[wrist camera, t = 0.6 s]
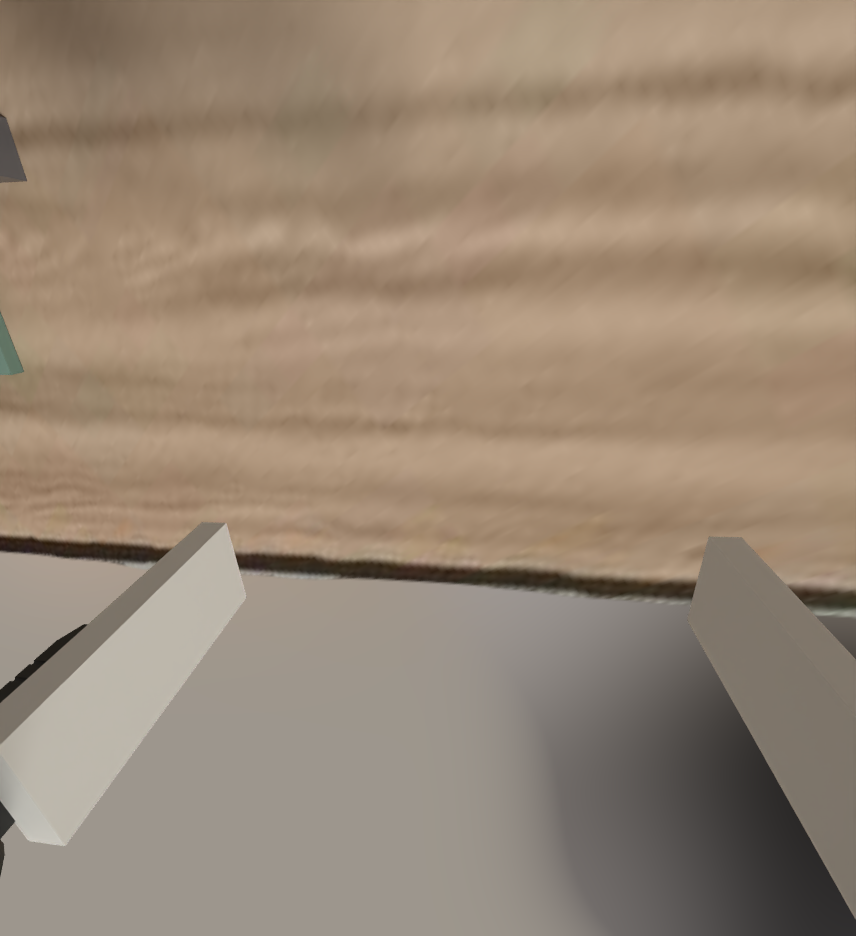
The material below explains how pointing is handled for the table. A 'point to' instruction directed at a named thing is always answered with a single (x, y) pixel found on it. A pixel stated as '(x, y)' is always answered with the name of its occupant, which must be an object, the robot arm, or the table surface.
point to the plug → (9, 156)
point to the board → (8, 353)
